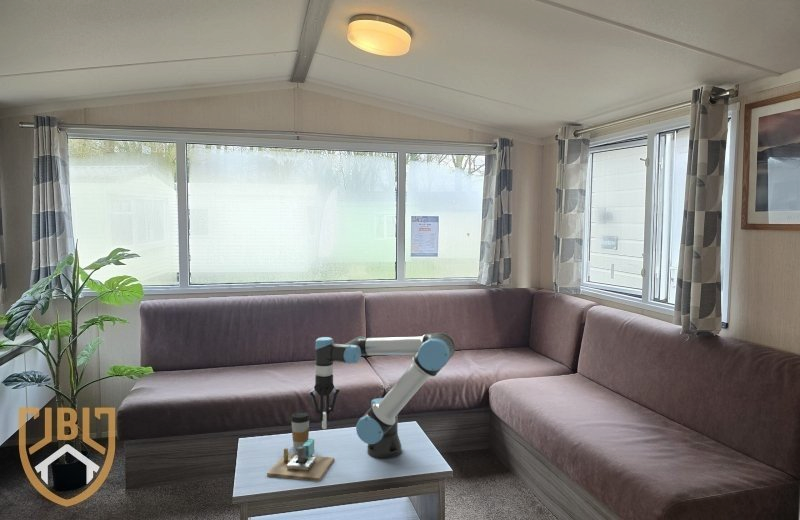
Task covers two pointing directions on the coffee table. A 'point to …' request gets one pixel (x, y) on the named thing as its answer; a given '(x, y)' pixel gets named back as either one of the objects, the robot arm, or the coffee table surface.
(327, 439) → the coffee table surface
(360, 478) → the coffee table surface
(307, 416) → the coffee cup
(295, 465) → the flange
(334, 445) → the coffee table surface
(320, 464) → the post base
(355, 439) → the coffee table surface
